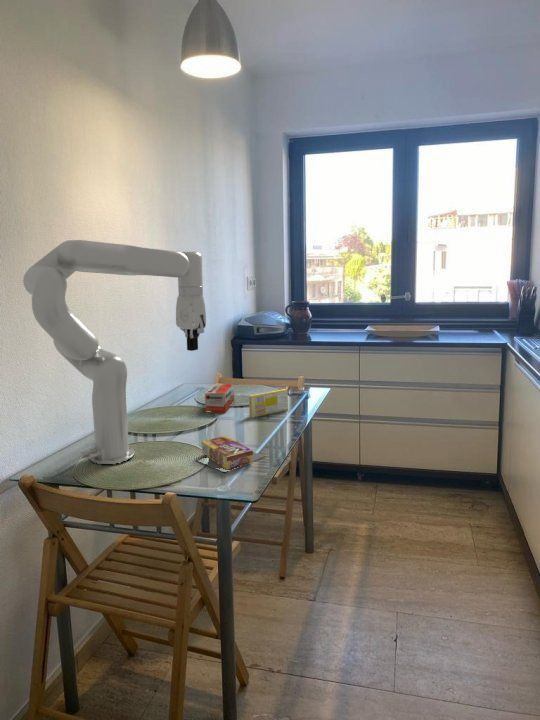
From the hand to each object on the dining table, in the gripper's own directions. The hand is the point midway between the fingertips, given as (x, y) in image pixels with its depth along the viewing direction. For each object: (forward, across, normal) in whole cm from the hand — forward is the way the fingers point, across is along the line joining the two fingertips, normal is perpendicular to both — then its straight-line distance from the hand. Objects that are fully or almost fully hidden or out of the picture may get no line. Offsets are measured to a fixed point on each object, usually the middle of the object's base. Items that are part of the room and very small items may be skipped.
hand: (192, 349), depth 173 cm
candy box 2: (+30, 0, +35) cm, 46 cm away
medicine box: (+30, -19, +28) cm, 45 cm away
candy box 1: (+27, +14, -4) cm, 31 cm away
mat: (+29, +23, -5) cm, 37 cm away
